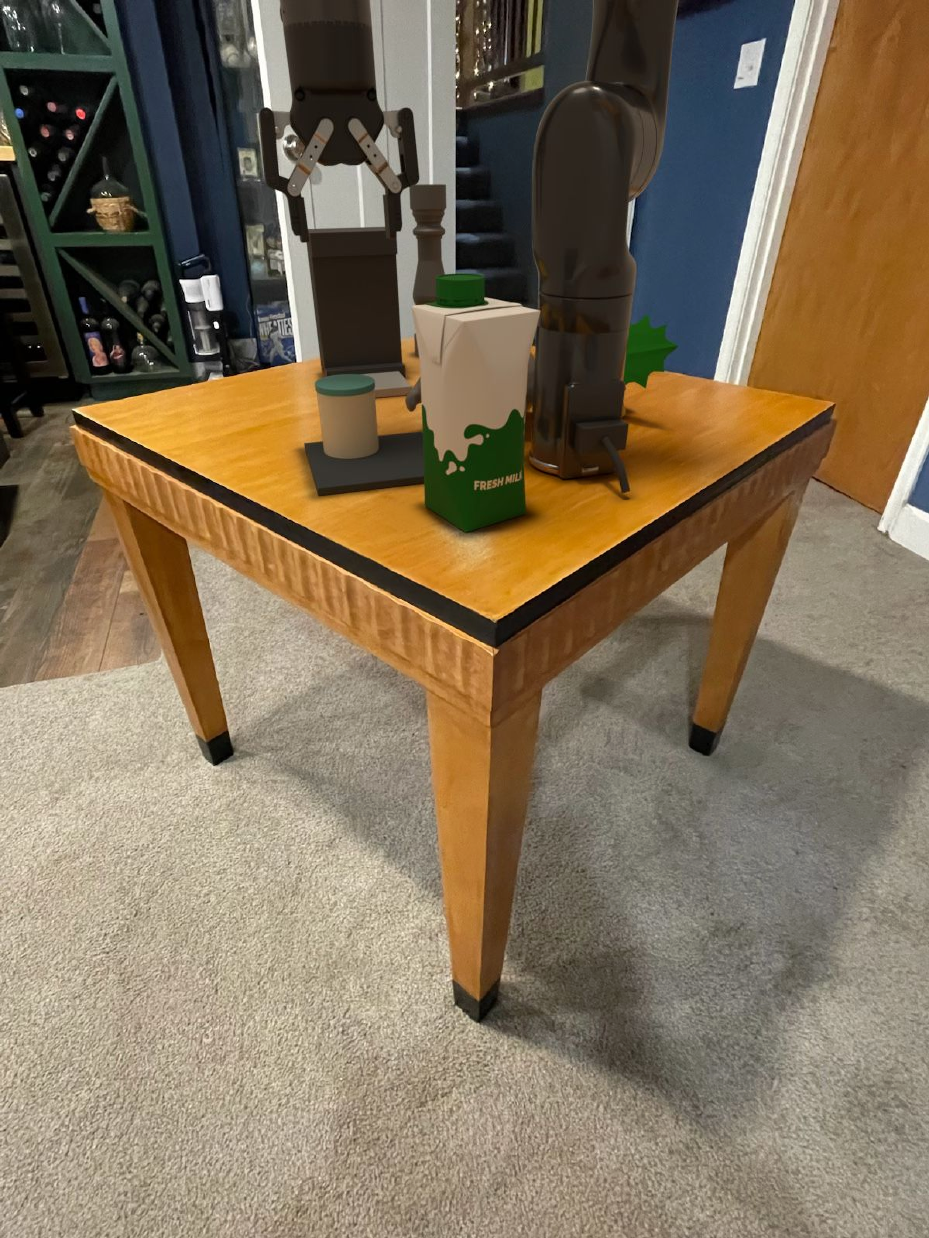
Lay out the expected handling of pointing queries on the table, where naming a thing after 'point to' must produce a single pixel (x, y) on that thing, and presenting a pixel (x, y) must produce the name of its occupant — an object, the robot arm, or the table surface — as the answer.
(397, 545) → the table surface
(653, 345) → the ornament
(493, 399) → the fresh milk carton
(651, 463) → the table surface
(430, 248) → the candle holder
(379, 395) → the coffee maker
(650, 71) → the robot arm
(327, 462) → the mat
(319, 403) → the container
